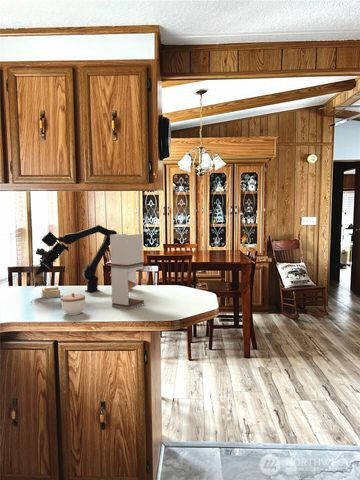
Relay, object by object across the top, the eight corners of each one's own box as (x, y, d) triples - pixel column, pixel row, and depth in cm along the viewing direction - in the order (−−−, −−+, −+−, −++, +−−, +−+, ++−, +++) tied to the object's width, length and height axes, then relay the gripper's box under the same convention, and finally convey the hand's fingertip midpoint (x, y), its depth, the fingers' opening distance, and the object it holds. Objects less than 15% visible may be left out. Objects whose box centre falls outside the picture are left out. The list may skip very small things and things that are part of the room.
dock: (60, 292, 213) (60, 286, 213) (63, 296, 202) (62, 290, 202) (41, 294, 209) (40, 288, 208) (42, 298, 198) (42, 292, 197)
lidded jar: (76, 309, 175) (76, 289, 174) (90, 312, 168) (90, 292, 167) (56, 314, 166) (55, 293, 166) (70, 318, 160) (69, 296, 159)
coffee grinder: (129, 309, 172) (127, 235, 169) (112, 307, 177) (109, 234, 175) (144, 304, 181) (142, 233, 179) (127, 301, 187) (125, 233, 184)
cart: (43, 283, 206) (42, 264, 205) (44, 285, 200) (43, 265, 200) (33, 284, 204) (32, 265, 203) (34, 286, 198) (33, 266, 197)
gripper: (43, 241, 210) (23, 262, 207) (45, 244, 193) (24, 266, 190) (58, 254, 214) (39, 274, 211) (61, 257, 197) (41, 279, 194)
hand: (35, 273), depth 201 cm, fingers closed on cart, 5 cm apart
